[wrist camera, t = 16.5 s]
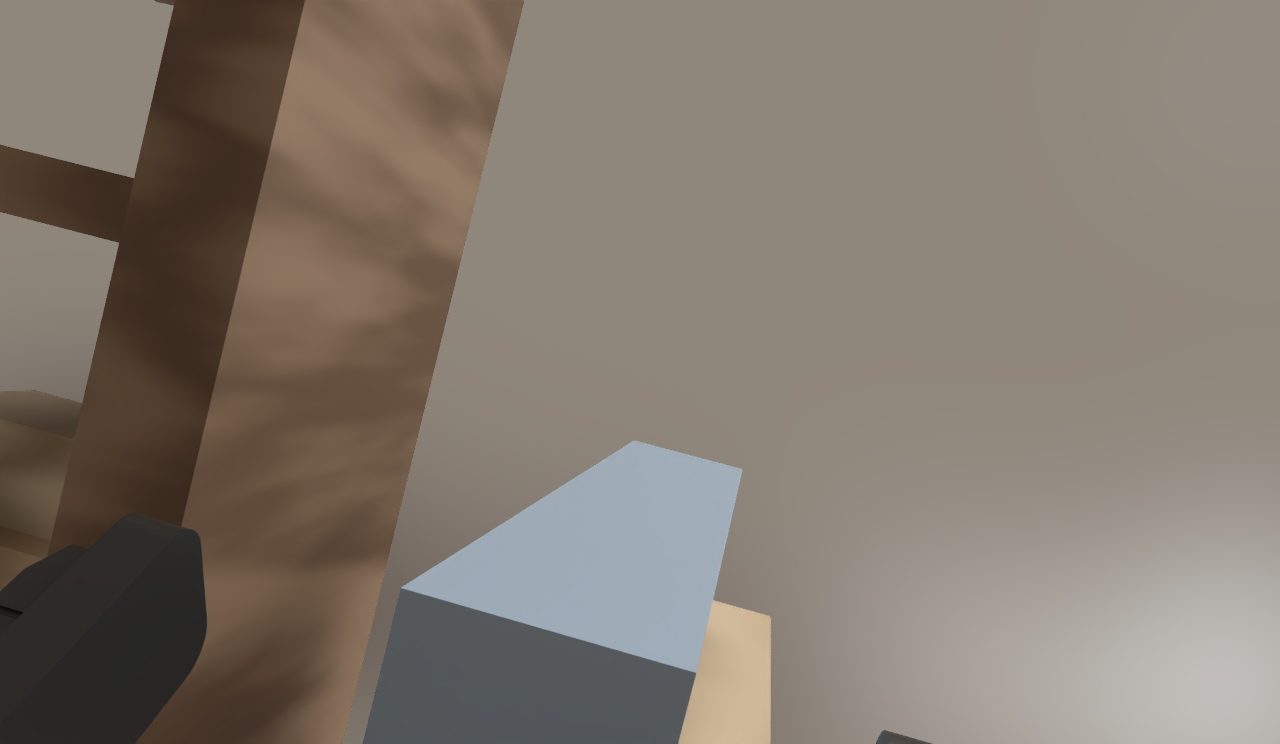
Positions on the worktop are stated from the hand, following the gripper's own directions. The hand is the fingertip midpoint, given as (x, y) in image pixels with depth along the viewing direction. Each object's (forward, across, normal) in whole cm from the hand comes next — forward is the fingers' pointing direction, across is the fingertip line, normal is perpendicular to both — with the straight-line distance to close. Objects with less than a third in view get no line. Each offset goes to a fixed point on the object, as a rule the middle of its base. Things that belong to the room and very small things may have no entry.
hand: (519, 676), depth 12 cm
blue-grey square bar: (+10, 0, +10) cm, 15 cm away
